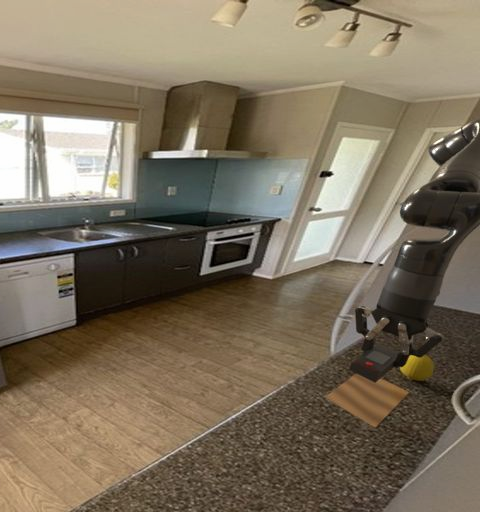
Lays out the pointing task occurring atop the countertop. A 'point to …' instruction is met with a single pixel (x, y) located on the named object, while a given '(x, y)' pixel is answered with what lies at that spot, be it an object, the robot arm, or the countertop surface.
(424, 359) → the lemon
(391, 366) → the remote
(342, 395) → the placemat
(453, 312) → the countertop surface
